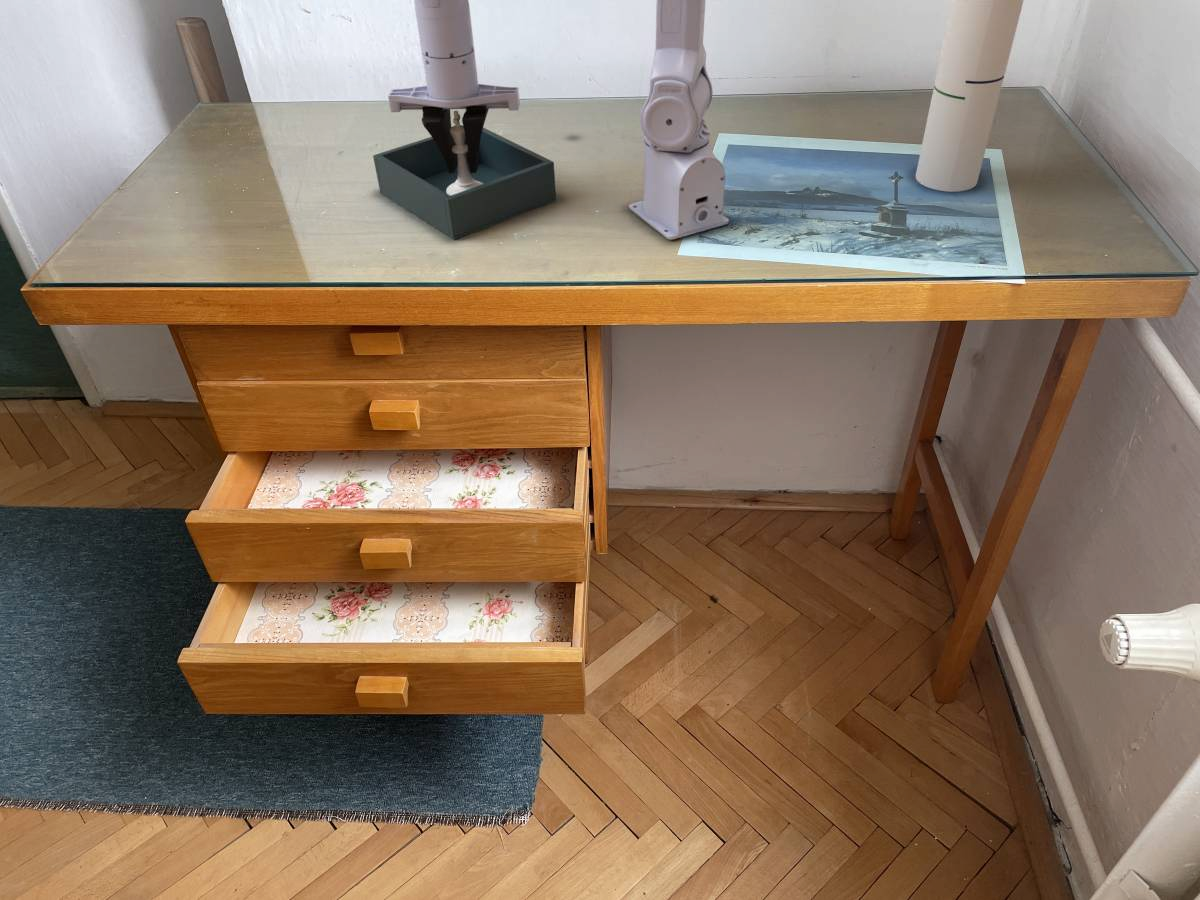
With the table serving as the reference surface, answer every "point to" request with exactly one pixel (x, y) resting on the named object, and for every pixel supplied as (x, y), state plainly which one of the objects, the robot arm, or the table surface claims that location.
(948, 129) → the cylindrical container
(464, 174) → the chess piece
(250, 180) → the table surface
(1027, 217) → the table surface
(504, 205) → the dark green open box
